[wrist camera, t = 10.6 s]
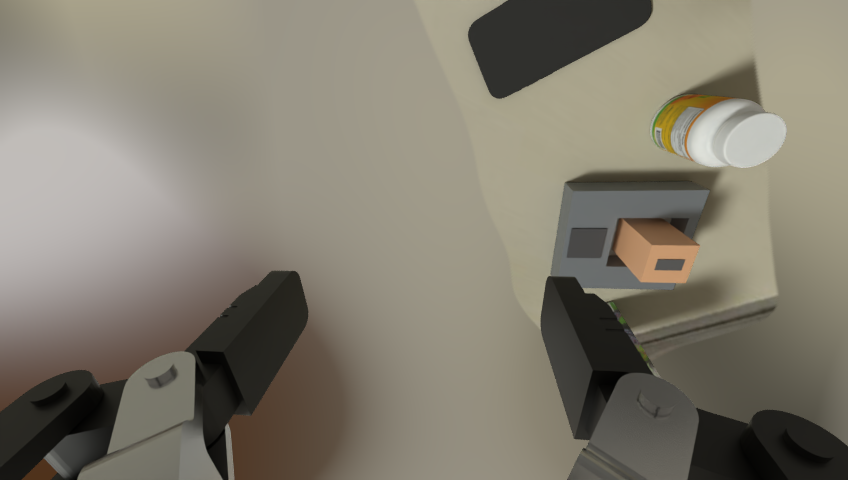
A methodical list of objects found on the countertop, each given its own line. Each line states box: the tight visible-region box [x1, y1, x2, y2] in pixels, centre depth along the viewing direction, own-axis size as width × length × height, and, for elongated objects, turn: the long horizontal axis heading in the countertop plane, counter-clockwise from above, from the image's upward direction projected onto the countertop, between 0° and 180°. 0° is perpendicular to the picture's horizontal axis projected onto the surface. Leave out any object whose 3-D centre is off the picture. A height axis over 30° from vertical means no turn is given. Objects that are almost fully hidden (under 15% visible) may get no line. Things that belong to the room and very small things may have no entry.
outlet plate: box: [551, 181, 710, 290], centre depth 37 cm, size 12×13×3 cm
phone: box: [468, 0, 651, 98], centre depth 30 cm, size 7×1×15 cm
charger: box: [612, 218, 700, 283], centre depth 35 cm, size 4×4×7 cm
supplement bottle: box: [650, 94, 787, 168], centre depth 28 cm, size 5×5×10 cm
